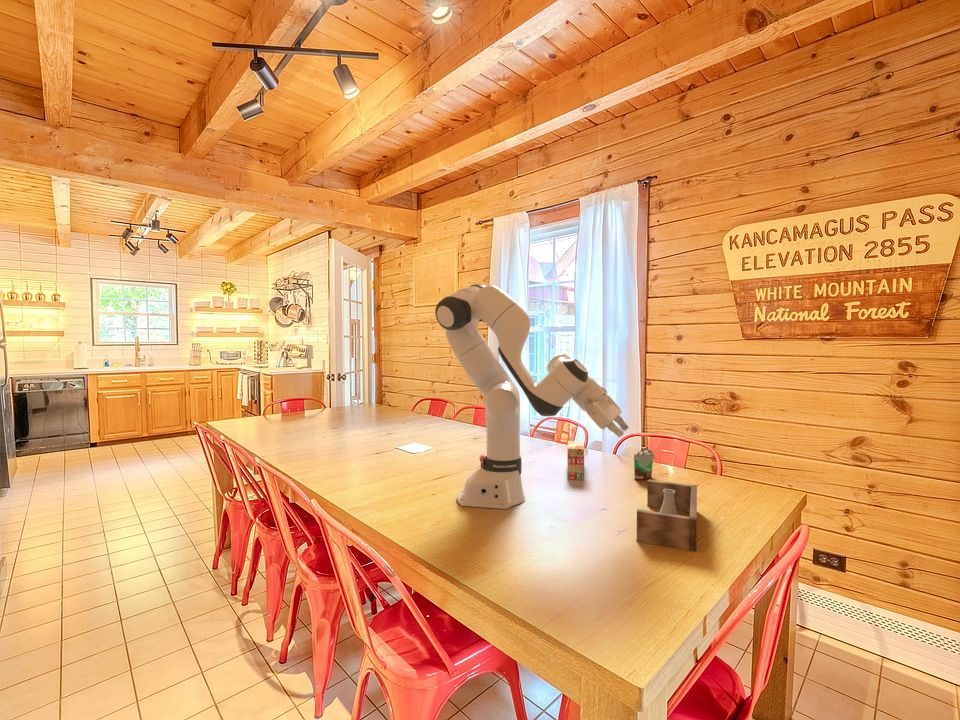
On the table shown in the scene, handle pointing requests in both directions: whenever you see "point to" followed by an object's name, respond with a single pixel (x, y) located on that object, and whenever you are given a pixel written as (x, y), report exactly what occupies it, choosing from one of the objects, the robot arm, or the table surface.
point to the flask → (669, 502)
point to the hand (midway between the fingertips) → (624, 432)
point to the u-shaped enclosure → (669, 517)
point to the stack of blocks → (575, 460)
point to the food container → (643, 464)
